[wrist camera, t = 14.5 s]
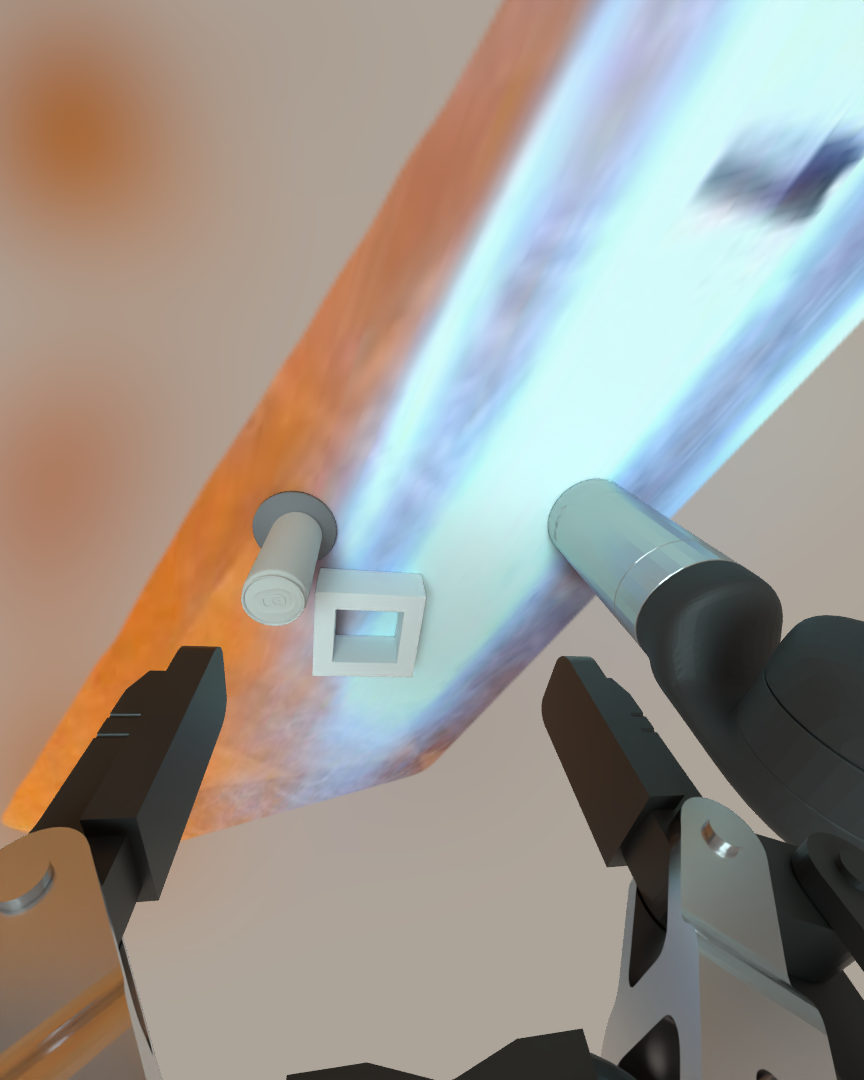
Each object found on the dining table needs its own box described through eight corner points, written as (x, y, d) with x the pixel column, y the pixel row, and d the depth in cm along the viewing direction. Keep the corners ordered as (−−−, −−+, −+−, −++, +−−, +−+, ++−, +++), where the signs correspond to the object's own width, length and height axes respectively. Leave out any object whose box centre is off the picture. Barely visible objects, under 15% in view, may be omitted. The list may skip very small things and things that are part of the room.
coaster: (338, 495, 41) (338, 497, 41) (334, 564, 45) (334, 567, 44) (252, 487, 40) (251, 489, 39) (255, 559, 43) (254, 562, 43)
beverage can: (325, 550, 43) (311, 624, 33) (277, 554, 43) (247, 630, 32) (319, 507, 41) (301, 571, 30) (268, 510, 40) (232, 577, 30)
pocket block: (421, 573, 47) (426, 597, 43) (408, 649, 52) (412, 677, 48) (320, 567, 45) (315, 591, 41) (317, 647, 50) (312, 675, 46)
